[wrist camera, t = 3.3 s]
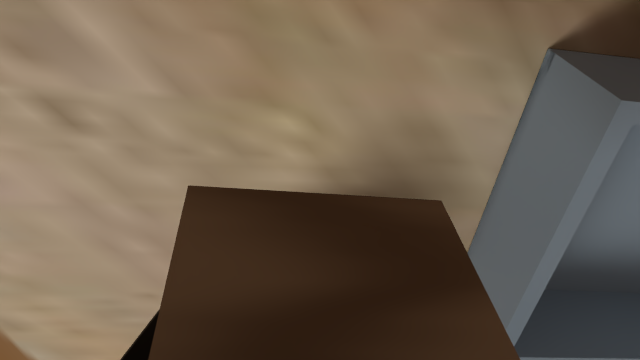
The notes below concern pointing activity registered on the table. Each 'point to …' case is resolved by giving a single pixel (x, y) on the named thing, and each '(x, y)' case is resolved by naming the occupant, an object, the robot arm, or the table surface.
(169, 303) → the walnut cube
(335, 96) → the table surface
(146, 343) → the robot arm
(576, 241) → the tote
